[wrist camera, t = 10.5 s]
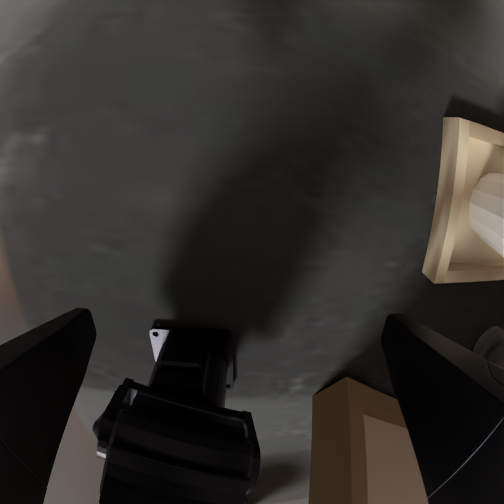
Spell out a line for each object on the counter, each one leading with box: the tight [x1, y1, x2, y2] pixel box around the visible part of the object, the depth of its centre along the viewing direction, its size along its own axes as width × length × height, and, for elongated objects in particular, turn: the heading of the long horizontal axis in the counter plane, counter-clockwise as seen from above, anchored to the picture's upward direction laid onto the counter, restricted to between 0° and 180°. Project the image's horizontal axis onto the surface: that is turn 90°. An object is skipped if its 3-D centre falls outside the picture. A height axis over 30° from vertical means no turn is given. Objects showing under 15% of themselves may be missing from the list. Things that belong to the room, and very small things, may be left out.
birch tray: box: [422, 117, 504, 284], centre depth 18 cm, size 12×12×2 cm
